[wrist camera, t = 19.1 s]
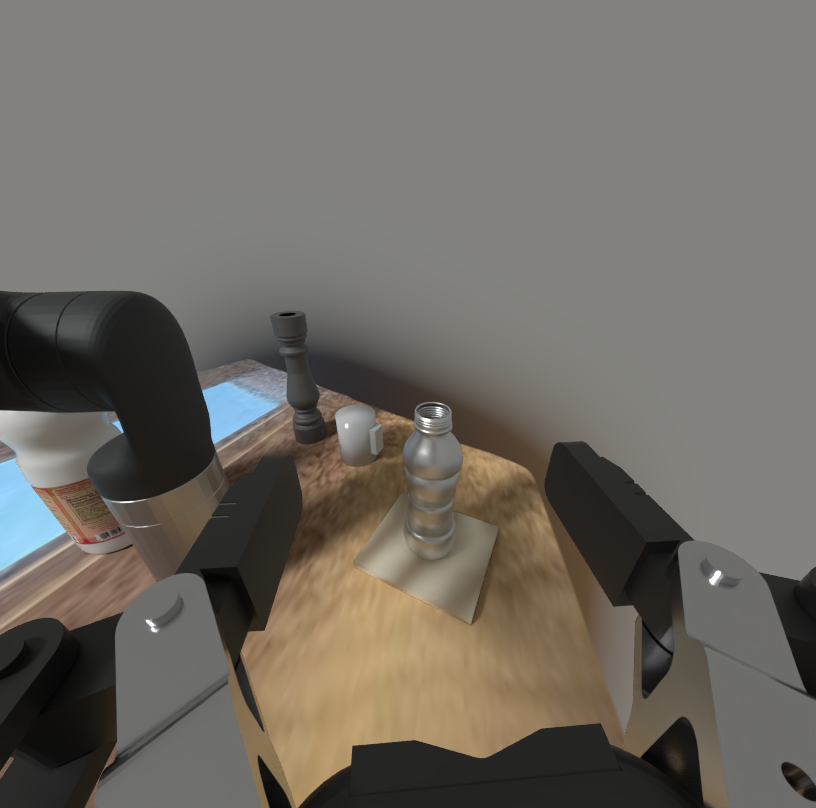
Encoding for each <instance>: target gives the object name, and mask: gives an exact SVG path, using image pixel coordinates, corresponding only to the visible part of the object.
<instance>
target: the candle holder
mask: <svg viewBox="0 0 816 808" xmlns="http://www.w3.org/2000/svg"><path fill="white" fill-rule="evenodd" d="M270 318H271V323H272V327H273V331H274V335H275V336H276V338H277V340H278V341H279V342H280V344H281V345H282V347H281V348H280V349H279V352H280V354H281V355H283V356H284V358H285V361H286V366H287V371H288V375H287V400H288V402H289V404H290V405H291V406H292V407H293V408H294V410H295V411H296V412H295V414H294V416H293V421H294V423H293V429H294V433H295V437H296V440H297V442H299V443H302V444H312V443H316V442H318V441H320V440H322V439H323V438H324V437H325V436H326V429H325V423H324V419H323V417H321V416H322V413H321V412H320V410H318V409H317V408H316V407H317V402H318V400H319V396H320V394H319V391H318V388H317V386H316V384H315V382H314V379H313V377H312V375H311V373H310V371H309V366H308V361H307V353H308V351H309V347H308V345H306V344H304V342H305V338H306V336H307V334H306V333H307V331H308V330H307V324H306V318H305V313H304V312H300V311H286V312H279V313H275V314H272V315H270Z"/></svg>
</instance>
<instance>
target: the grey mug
mask: <svg viewBox="0 0 816 808" xmlns="http://www.w3.org/2000/svg"><path fill="white" fill-rule="evenodd" d="M335 418H336V425H337V432H338V439H339V446H340V452H341V459H342V461H343V462H344V463H345V464H347V465H349V466H354V467H360V466H365V465H368V464H370V463H372V462H373V461H375V460H376V458H377V457H378V453H379V452H380V451H381V450H382V449H383V448H384V445H383V429H382V425H381V424H377V423H376V417H375V410H374V409H373V408H372V407H370V406H367V405H350V406H346V407H344V408H342V409H340V410H339V411H338V412H337V413H336V415H335Z"/></svg>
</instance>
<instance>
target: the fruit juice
mask: <svg viewBox="0 0 816 808" xmlns="http://www.w3.org/2000/svg"><path fill="white" fill-rule="evenodd" d="M120 434H122V432H121V431H120V430H119V429H118V428H117V427H116V426H115V425H113V424H112V423H110V421H109V420H108V418H107V411H106V412H83V413H51V412H33V411H2V410H0V441H2V442H3V443H5V444H6V445H8V446H9V447H11V448H12V449H13V450H14V451H15V453H16V463H17V466H18V468H19V470H20V471H21V473H22V475H23V476H24V478H25V479H26V481H27V482H28V483H29V484H30V485H31V487H32V488H33V489H34V490H35V492H36V493H37V494H38V495H39V497H40V498H41V499H42V501H43V502H44V503H45V505H46V506H47V507H48V508H49V510H50V511H51V512H52V514H53V515H54V516H55V517H56V519H57V520H58V521H59V523H60V524H61V525H62V526H63V528H64V529H65V530H66V532H67V533H68V534H69V535H70V537H71V538H72V539H73V541H74V542H75V543H76V544H77V546H78V547H79V548H80V549H82V550H83V551H85V552H87V553H89V554H106V553H111V552H114V551H117V550H120V549H123V548H125V547H127V546H129V545H131V544H132V543H131V541H130V540H129V538H128V537H127V535H126V534H125V532H124V531H123V529H122V527H121V526H120V524H119V523H118V521H117V520H116V518H115V517H114V516H113V514H112V513H111V511H110V509H109V508H108V506H107V505H106V503H105V502H104V500H103V499H102V497H101V496H100V494H99V493H98V491H97V490H96V488H95V487H94V485H93V483H92V482H91V480H90V478H89V476H88V473H87V464H88V461H89V459H90V458H91V456H92V455H93V454H94V453H95V452H96V451H97V450H98V449H99V448H100V447H102V446H103V445H104V444H105V443H107V442H108V441H110V440H111V439H113V438H115V437H116V436H118V435H120Z"/></svg>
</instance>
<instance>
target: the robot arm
mask: <svg viewBox="0 0 816 808" xmlns="http://www.w3.org/2000/svg"><path fill="white" fill-rule="evenodd" d="M0 410H2V411H33V412H51V413H83V412H106V411H115V413H116V414H117V417H118V419H119V421H120V424H121V426H122V429H123V431H124V433H122V434H120V435H118V436H116V437H115V438H113V439H111V440H110V441H108V442H107V443H105V444H104V445H103V446H102V447H100V448H99V449H98V450H97V451H96V452H95V453H94V454H93V455H92V456H91V458H90V459H89V461H88V464H87V473H88V476H89V478H90V480H91V482H92V483H93V485H94V487H95V488H96V490H97V491H98V493H99V494H100V496H101V497H102V499H103V500H104V502H105V503H106V505H107V506H108V508H109V509H110V511H111V513H112V514H113V516H114V517H115V518H116V520H117V521H118V523H119V524H120V526H121V527H122V529H123V531H124V532H125V534H126V535H127V537H128V538H129V540H130V541H131V543H132V544H133V546H134V547H135V549H136V551H137V552H138V554H139V555H140V557H141V558H142V560H143V561H144V563H145V564H146V566H147V567H148V569H149V571H150V572H151V574H152V575H153V577H154V578H155V580H156V581H157V583H155V584H153V585H152V586H150V587H149V588H148V589H146V590H145V591H144V592H142V593H141V594H140V595H139V596H138V597H137V598H136V599H135V600H134V601H133V602H132V603H131V604H130V605H129V606H128V607H127V609H126V610H125V611H124V612H122V613H120V614H117V615H114V616H111V617H108V618H105V619H102V620H100V621H97V622H94V623H91V624H88V625H85V626H82V627H80V628H77V629H74V630H71V631H69V630H68V629H67V628H66V627H65V626H64V625H63V624H62V623H61V622H60V621H59V620H57V619H54V618H41V619H36V620H32V621H29V622H26V623H23V624H21V625H19V626H16V627H14V628H12V629H10V630H8V631H6V632H5V633H3V634H1V635H0V771H1V769H2V768H3V766H4V765H5V763H6V762H7V760H8V759H9V758H10V756H11V757H12V758H14V760H13V762H12V763H11V765H10V766H9V768H8V769H7V770H6V772H5V773H4V775H3V776H2V778H1V779H0V808H84V807H85V805H86V803H87V801H88V799H89V797H90V795H91V793H92V791H93V789H94V787H95V785H96V783H97V781H98V779H99V777H100V775H101V773H102V771H103V769H104V767H105V765H106V763H107V761H108V758H109V756H110V754H111V752H112V750H113V748H114V746H115V744H116V742H117V754H116V758H115V760H114V762H113V763H112V764H110V765H109V766H108V767H106V769H105V770H104V771H103V773H102V775H101V777H100V779H99V782H98V787H97V791H96V799H95V808H296V806H295V803H294V800H293V797H292V794H291V791H290V788H289V785H288V782H287V779H286V777H285V774H284V771H283V768H282V766H281V763H280V761H279V758H278V756H277V753H276V751H275V749H274V747H273V744H272V741H271V739H270V736H269V733H268V730H267V727H266V724H265V721H264V718H263V715H262V712H261V709H260V706H259V703H258V700H257V697H256V694H255V691H254V688H253V685H252V682H251V679H250V676H249V673H248V670H247V666H246V663H245V660H244V657H243V654H242V652H241V649H242V646H243V644H244V641H245V638H246V635H247V632H249V631H263V630H265V627H266V624H267V621H268V618H269V615H270V611H271V608H272V605H273V602H274V599H275V595H276V592H277V589H278V586H279V582H280V579H281V576H282V573H283V570H284V566H285V563H286V560H287V557H288V554H289V550H290V547H291V544H292V541H293V538H294V534H295V531H296V528H297V525H298V521H299V518H300V515H301V511H302V491H301V487H300V483H299V479H298V475H297V470H296V466H295V462H294V459H293V456H292V455H272V456H264V457H263V458H262V459H261V461H260V462H259V464H258V466H257V468H256V469H255V471H254V473H253V474H244V475H243V476H242V477H241V478H240V479H239V480H237V481H236V482H235V483H234V484H233V485H232V486H229V483H228V481H227V478H226V476H225V473H224V470H223V468H222V465H221V463H220V460H219V458H218V455H217V452H216V450H215V447H214V444H213V442H212V438H211V427H210V418H209V413H208V409H207V405H206V402H205V399H204V396H203V393H202V390H201V386H200V383H199V380H198V376H197V372H196V369H195V365H194V362H193V358H192V355H191V352H190V349H189V346H188V343H187V340H186V338H185V336H184V333H183V331H182V329H181V327H180V325H179V324H178V322H177V320H176V319H175V317H174V316H173V315H172V314H171V312H170V311H169V310H168V309H167V308H166V307H165V306H164V305H163V304H162V303H161V302H159V301H158V300H157V299H155V298H153V297H151V296H149V295H147V294H143V293H139V292H133V291H85V292H45V293H22V292H7V291H0ZM545 492H546V496H547V498H548V501H549V502H550V504H551V506H552V507H553V509H554V510H555V512H556V514H557V515H558V517H559V519H560V520H561V522H562V524H563V525H564V527H565V528H566V530H567V532H568V533H569V535H570V537H571V538H572V540H573V541H574V543H575V544H576V546H577V548H578V549H579V551H580V553H581V555H582V556H583V557H584V559H585V561H586V562H587V564H588V566H589V567H590V569H591V571H592V572H593V574H594V576H595V577H596V579H597V580H598V582H599V584H600V585H601V587H602V589H603V590H604V592H605V594H606V595H607V597H608V598H609V600H610V602H611V603H612V605H613V606H614V607H615V606H627V605H633V606H634V608H635V609H636V610H637V612H638V613H639V615H638V616H637V618H636V621H635V648H634V686H633V705H632V711H631V715H630V718H629V721H628V724H627V729H626V732H625V738H624V745H623V750H622V749H620V748H618V747H615V746H613V745H610V743H609V741H608V739H607V737H606V734H605V732H604V730H603V728H602V725H601V723H599V724H588V725H577V726H566V727H555V728H544V729H540V730H538V731H536V732H534V733H533V734H531V735H529V736H527V737H525V738H523V739H521V740H519V741H518V742H516V743H514V744H512V745H510V746H508V747H506V748H505V749H503V750H501V751H499V752H497V753H495V754H493V755H491V756H489V757H487V758H476V757H472V756H469V755H465V754H462V753H458V752H455V751H451V750H448V749H444V748H441V747H437V746H434V745H430V744H427V743H423V742H420V741H416V740H412V741H401V742H390V743H379V744H368V745H357V746H352V761H351V765H350V766H348V767H346V768H344V769H342V770H340V771H339V772H337V773H336V774H334V775H333V776H332V777H330V778H329V779H327V780H326V781H324V782H323V783H322V784H321V785H320V786H319V787H318V788H317V789H316V790H314V791H313V792H312V793H311V794H310V795H309V796H308V797H307V798H306V799H305V801H304V802H303V803H302V804H301V805H300V806H299V807H298V808H816V567H815V568H813V569H812V570H811V571H810V572H809V573H808V574H807V575H806V576H805V577H804V578H803V579H802V580H801V581H798V580H793V579H788V578H783V577H778V576H773V575H769V574H764V573H760V572H758V571H757V570H755V569H754V568H753V567H752V566H751V565H750V564H748V563H747V562H746V561H745V560H743V559H742V558H740V557H739V556H737V555H735V554H734V553H732V552H730V551H728V550H726V549H724V548H722V547H719V546H717V545H714V544H711V543H707V542H702V541H695V540H694V539H692V537H691V536H689V534H688V533H686V532H685V531H684V530H683V529H682V528H681V527H680V526H679V525H678V524H677V523H676V522H675V521H674V520H673V519H672V518H671V517H670V516H669V515H668V514H667V513H666V512H665V511H664V510H663V509H662V508H661V507H660V506H659V505H658V504H657V503H656V502H655V501H654V500H653V499H652V498H651V497H650V496H649V495H646V494H645V491H644V490H643V489H642V488H641V487H640V486H639V485H638V484H635V483H634V480H633V479H632V478H631V477H629V475H628V474H627V473H625V471H624V470H623V469H621V468H620V467H619V466H617V465H615V464H614V463H612V462H610V461H609V460H607V459H605V458H604V457H599V456H598V455H597V454H596V453H595V452H594V450H592V448H590V446H589V445H588V444H587V443H585V442H583V441H580V442H558V443H556V444H555V445H554V447H553V451H552V455H551V459H550V463H549V466H548V470H547V474H546V478H545Z"/></svg>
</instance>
